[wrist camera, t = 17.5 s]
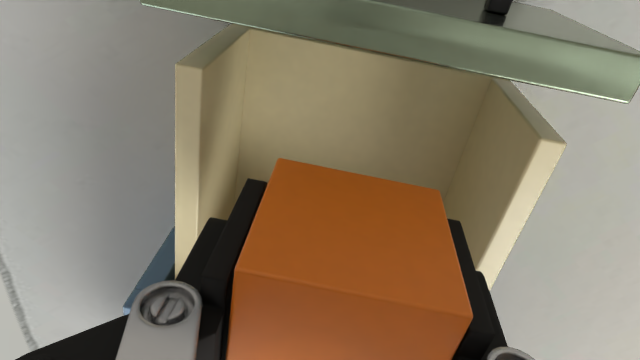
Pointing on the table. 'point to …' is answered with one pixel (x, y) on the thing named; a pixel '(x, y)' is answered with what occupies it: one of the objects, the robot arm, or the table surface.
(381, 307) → the matte orange cube
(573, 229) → the table surface
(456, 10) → the drawer
